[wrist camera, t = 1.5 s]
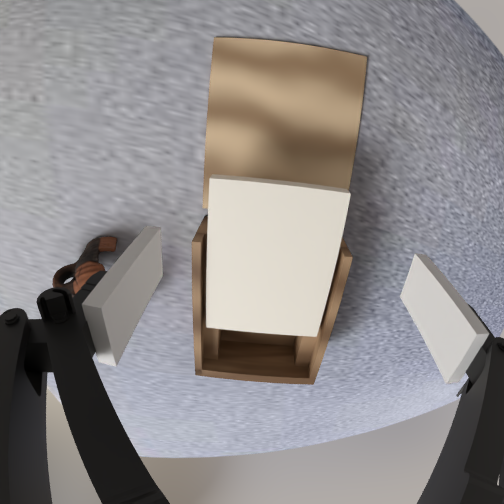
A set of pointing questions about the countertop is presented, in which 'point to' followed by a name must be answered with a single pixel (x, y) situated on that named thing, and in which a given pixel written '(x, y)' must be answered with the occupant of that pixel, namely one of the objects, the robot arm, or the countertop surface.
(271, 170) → the cork mat
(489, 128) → the countertop surface
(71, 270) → the pottery mug
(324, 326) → the walnut box
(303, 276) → the cover plate
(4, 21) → the countertop surface
